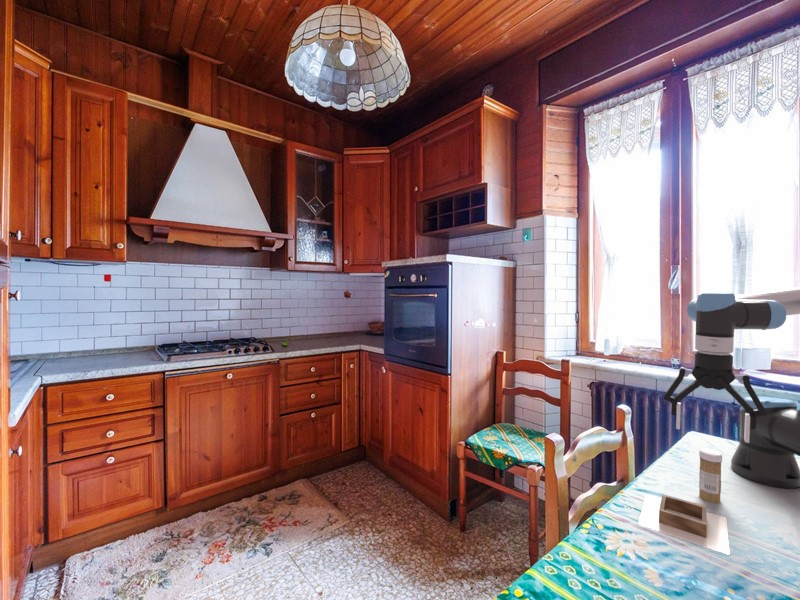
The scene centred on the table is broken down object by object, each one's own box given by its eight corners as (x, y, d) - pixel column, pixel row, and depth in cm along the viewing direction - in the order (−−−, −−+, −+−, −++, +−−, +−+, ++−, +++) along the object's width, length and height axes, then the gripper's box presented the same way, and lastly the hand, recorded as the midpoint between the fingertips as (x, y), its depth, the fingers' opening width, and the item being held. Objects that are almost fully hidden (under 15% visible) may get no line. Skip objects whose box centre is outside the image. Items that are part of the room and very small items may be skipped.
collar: (706, 519, 89) (706, 506, 88) (706, 538, 82) (706, 524, 82) (662, 505, 94) (662, 494, 94) (658, 522, 87) (659, 510, 87)
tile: (726, 521, 89) (726, 517, 89) (729, 560, 77) (729, 555, 77) (646, 497, 99) (646, 494, 99) (638, 528, 87) (638, 524, 87)
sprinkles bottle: (723, 503, 97) (725, 452, 96) (717, 509, 94) (718, 456, 94) (701, 495, 100) (703, 446, 100) (695, 500, 98) (696, 450, 97)
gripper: (653, 349, 101) (651, 426, 101) (785, 360, 85) (781, 452, 86) (656, 345, 106) (654, 419, 107) (780, 356, 91) (776, 441, 92)
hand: (710, 434), depth 97 cm, fingers open, 13 cm apart
